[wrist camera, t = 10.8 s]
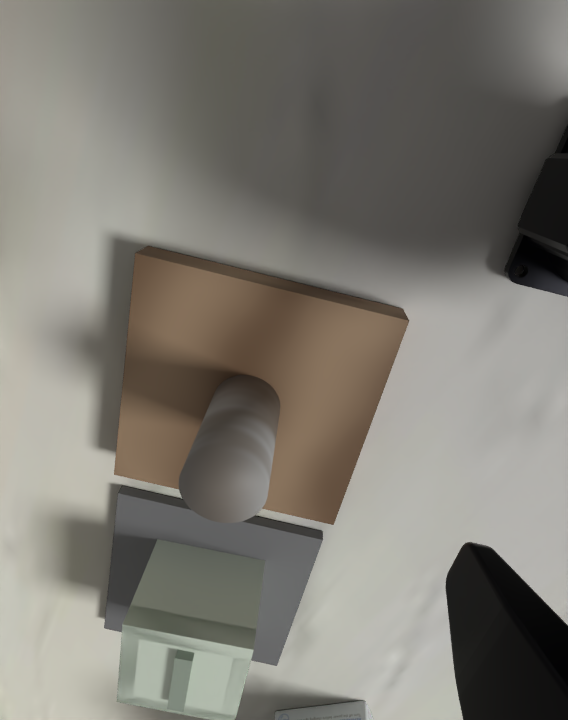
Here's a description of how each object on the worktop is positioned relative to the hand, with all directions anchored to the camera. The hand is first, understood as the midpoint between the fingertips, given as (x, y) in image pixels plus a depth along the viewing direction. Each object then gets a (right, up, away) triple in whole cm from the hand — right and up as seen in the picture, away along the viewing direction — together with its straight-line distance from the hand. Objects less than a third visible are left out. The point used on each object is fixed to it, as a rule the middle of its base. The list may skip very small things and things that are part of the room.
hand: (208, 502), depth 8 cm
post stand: (0, +1, +14) cm, 14 cm away
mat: (-3, -10, +19) cm, 22 cm away
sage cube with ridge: (-3, -11, +19) cm, 22 cm away
